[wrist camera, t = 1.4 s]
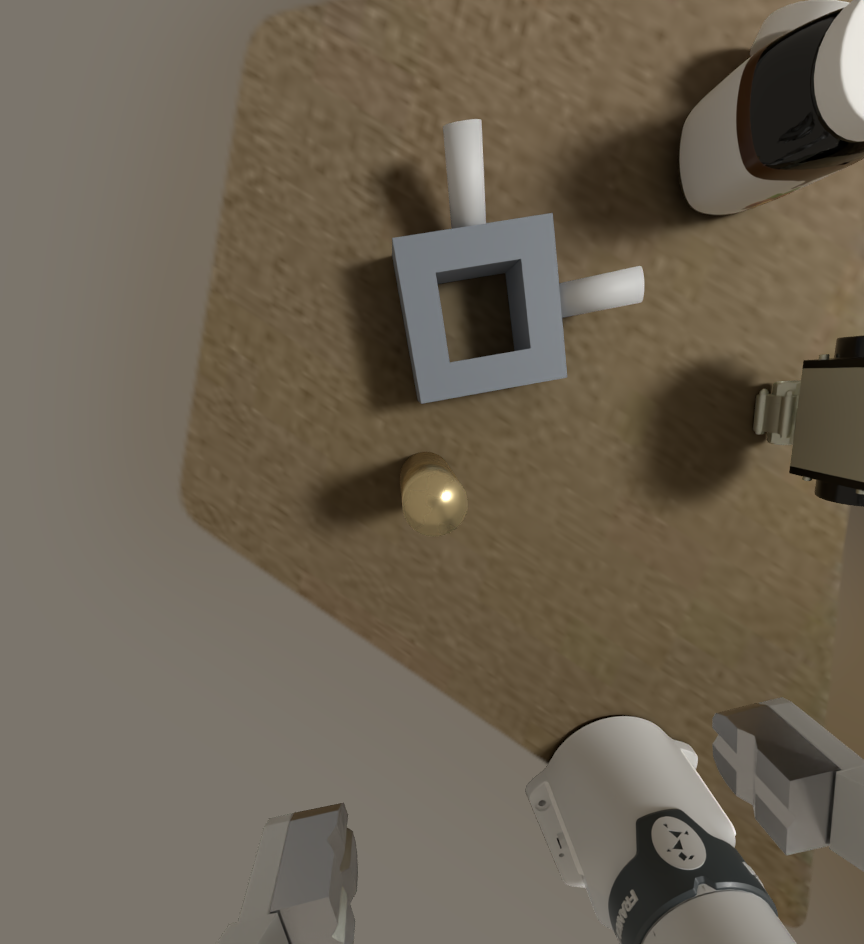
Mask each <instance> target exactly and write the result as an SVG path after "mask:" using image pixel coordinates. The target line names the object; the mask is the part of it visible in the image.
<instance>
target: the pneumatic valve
mask: <svg viewBox="0 0 864 944" xmlns="http://www.w3.org/2000/svg"><path fill="white" fill-rule="evenodd" d="M804 368H805V369H804ZM768 393H769V391H768V390H767V389H762V390H761V391H760V393H759V395H756V404H755V414H754V424H753V431H755V434H764V432H768V434H767V441H768V443H771V444H777V445H793V448H792V456H791V463H790V471H789V473H791V474H795V475H799V476H803V477H802V480H805V481H811V480H812V479H816V486H815V495H816V496H818V497H819V498H822V499H824V500H827V501H831V502H836V503H841V504H846V505H854V506H864V336H854V337H843V338H837V341H836V348H835V355H834V358H829V354H826V355H819V359H816V360H804V362H803V370H802V378H801V381H780V382H775V383H774V384H773V390H772V394H768Z"/></svg>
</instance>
